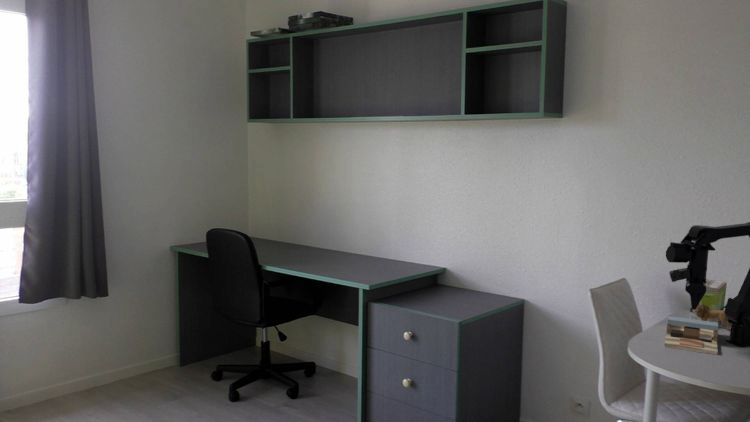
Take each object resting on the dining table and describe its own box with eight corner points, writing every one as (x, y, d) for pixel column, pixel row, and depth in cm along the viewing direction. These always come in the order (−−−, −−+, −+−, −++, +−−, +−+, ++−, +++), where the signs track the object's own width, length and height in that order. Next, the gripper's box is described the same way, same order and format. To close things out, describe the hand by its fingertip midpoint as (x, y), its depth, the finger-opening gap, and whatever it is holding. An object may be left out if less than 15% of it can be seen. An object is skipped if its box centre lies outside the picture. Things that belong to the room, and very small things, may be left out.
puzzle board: (717, 354, 212) (718, 341, 212) (664, 346, 219) (665, 333, 219) (715, 334, 235) (716, 321, 234) (667, 327, 242) (668, 314, 241)
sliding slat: (717, 330, 222) (718, 326, 222) (667, 323, 229) (667, 319, 229) (717, 327, 226) (718, 322, 226) (667, 320, 233) (668, 315, 233)
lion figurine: (691, 326, 244) (693, 303, 243) (689, 322, 249) (691, 299, 248) (735, 331, 239) (737, 307, 238) (732, 327, 244) (734, 304, 243)
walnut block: (698, 342, 225) (699, 330, 224) (683, 340, 227) (684, 327, 227) (698, 338, 229) (700, 326, 229) (683, 336, 232) (684, 324, 231)
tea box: (716, 325, 245) (720, 288, 243) (688, 320, 251) (691, 283, 249) (723, 317, 257) (727, 281, 255) (696, 312, 263) (699, 277, 261)
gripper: (673, 255, 231) (669, 298, 233) (670, 264, 215) (666, 310, 217) (707, 259, 226) (703, 302, 228) (708, 268, 210) (703, 315, 212)
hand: (693, 307), depth 221 cm, fingers open, 6 cm apart
